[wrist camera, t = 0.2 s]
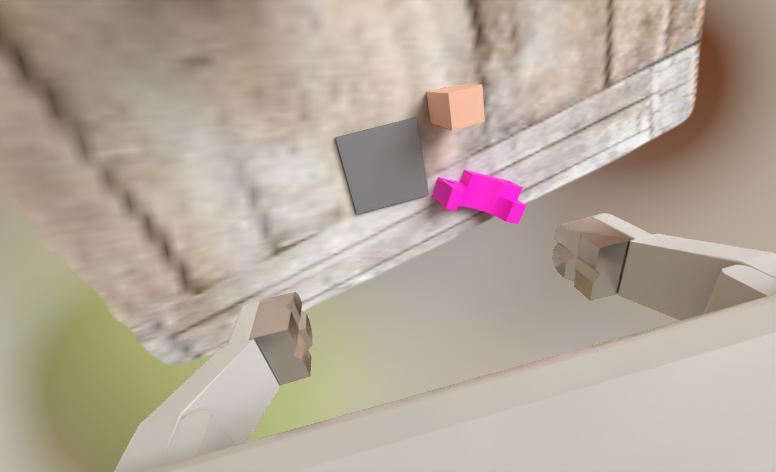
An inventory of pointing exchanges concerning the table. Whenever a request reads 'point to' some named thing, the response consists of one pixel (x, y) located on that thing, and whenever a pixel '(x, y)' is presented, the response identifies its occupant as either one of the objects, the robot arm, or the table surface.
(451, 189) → the toy block
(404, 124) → the mat
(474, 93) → the pillar block
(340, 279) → the table surface
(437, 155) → the table surface
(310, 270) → the table surface
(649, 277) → the robot arm
